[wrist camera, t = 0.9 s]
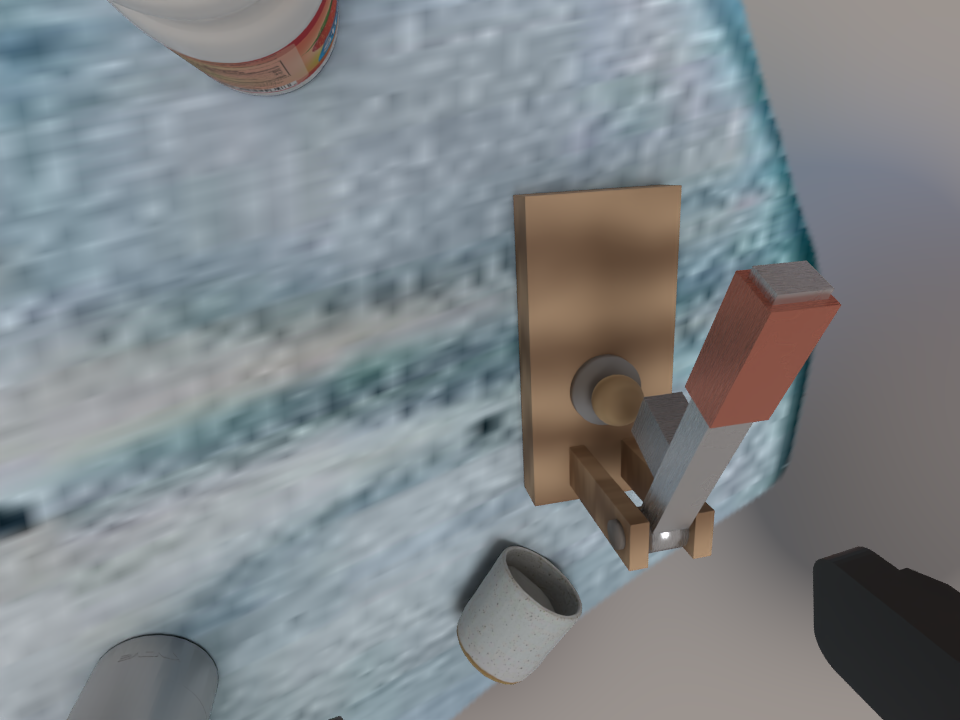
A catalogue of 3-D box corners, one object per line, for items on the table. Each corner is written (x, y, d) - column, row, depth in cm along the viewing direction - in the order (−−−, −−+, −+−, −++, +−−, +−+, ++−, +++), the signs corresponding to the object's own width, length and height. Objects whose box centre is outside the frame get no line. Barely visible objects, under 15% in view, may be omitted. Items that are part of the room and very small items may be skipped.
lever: (648, 476, 41) (685, 553, 37) (607, 482, 40) (640, 562, 36) (766, 213, 26) (849, 296, 22) (704, 218, 25) (777, 304, 21)
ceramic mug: (443, 609, 50) (459, 683, 43) (493, 533, 48) (518, 596, 41) (542, 643, 53) (572, 717, 46) (591, 573, 52) (630, 638, 45)
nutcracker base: (649, 466, 49) (749, 566, 37) (524, 486, 48) (585, 598, 35) (660, 184, 42) (789, 188, 30) (513, 195, 40) (584, 203, 28)
